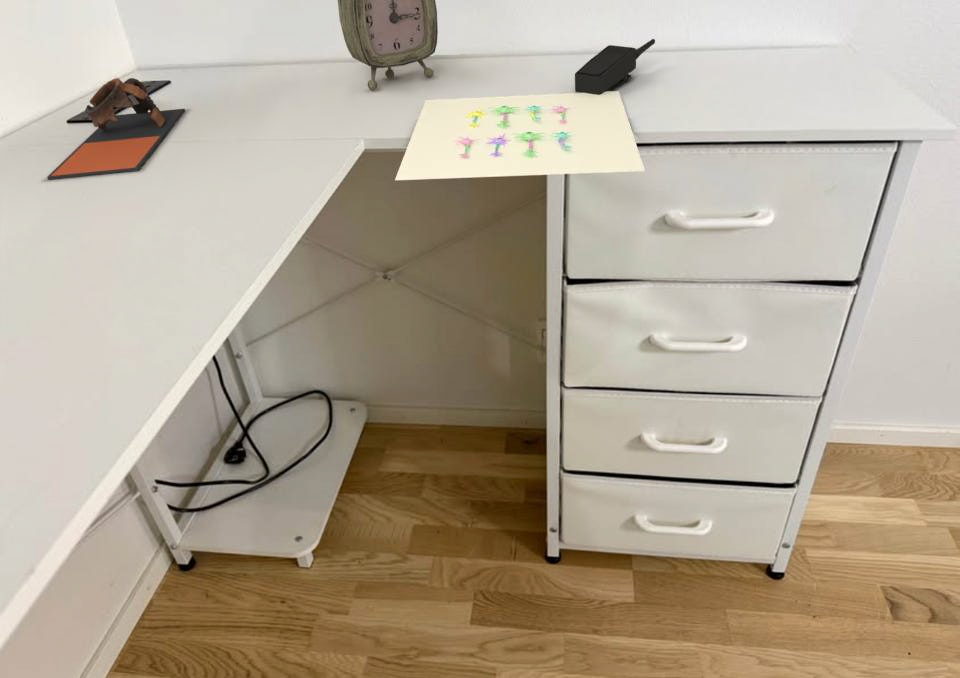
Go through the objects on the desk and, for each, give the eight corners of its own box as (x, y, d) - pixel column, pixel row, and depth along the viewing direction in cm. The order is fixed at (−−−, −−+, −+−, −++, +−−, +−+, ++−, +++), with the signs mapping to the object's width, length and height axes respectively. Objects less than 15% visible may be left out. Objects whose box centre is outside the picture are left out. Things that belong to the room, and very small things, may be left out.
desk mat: (48, 179, 91) (46, 176, 91) (111, 118, 112) (110, 115, 112) (138, 170, 92) (137, 167, 91) (185, 110, 113) (184, 108, 112)
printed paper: (425, 102, 106) (424, 92, 106) (618, 93, 104) (619, 83, 103) (395, 182, 83) (393, 171, 82) (644, 173, 80) (645, 161, 79)
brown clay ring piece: (164, 136, 103) (117, 94, 97) (120, 165, 106) (72, 127, 100) (176, 93, 110) (133, 52, 104) (135, 121, 113) (90, 83, 107)
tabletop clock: (366, 95, 113) (338, -80, 98) (347, 83, 120) (318, -82, 105) (443, 78, 119) (427, -91, 104) (420, 67, 125) (402, -92, 110)
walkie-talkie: (562, 81, 105) (623, 39, 116) (587, 112, 106) (645, 67, 117) (586, 55, 100) (647, 13, 111) (612, 88, 101) (670, 43, 112)
